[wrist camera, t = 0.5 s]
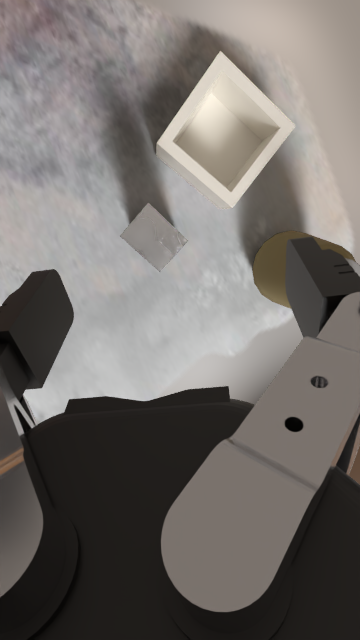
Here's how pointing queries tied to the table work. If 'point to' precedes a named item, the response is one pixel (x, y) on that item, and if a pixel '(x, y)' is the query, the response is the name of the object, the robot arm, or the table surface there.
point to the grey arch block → (154, 237)
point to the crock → (223, 134)
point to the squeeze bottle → (273, 264)
